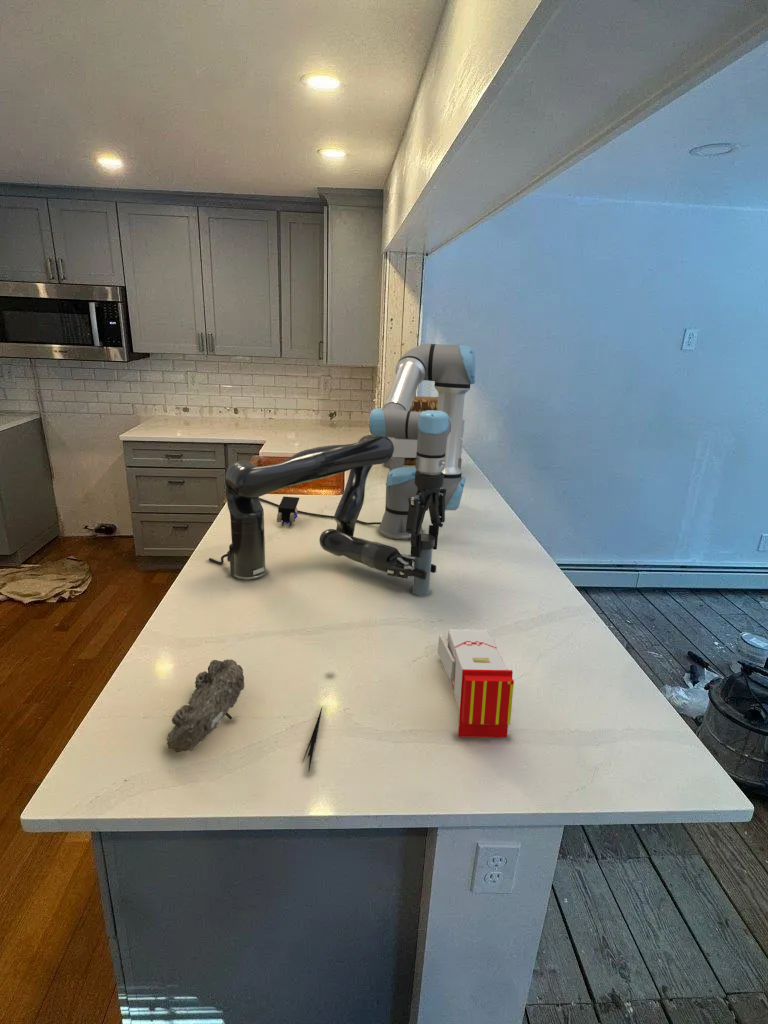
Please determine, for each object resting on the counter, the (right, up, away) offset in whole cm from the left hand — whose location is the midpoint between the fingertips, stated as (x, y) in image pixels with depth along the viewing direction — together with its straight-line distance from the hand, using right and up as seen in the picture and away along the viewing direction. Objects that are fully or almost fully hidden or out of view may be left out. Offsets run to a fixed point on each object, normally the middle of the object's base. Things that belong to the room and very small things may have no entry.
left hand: (430, 572), depth 156 cm
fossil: (-46, -22, -48) cm, 70 cm away
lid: (-2, +9, -2) cm, 10 cm away
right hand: (-2, +6, -1) cm, 6 cm away
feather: (-25, -23, -47) cm, 58 cm away
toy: (+5, -21, -37) cm, 43 cm away
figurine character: (-48, +13, +50) cm, 71 cm away
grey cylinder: (-3, -6, +4) cm, 7 cm away
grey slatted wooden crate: (+4, +35, +119) cm, 124 cm away
